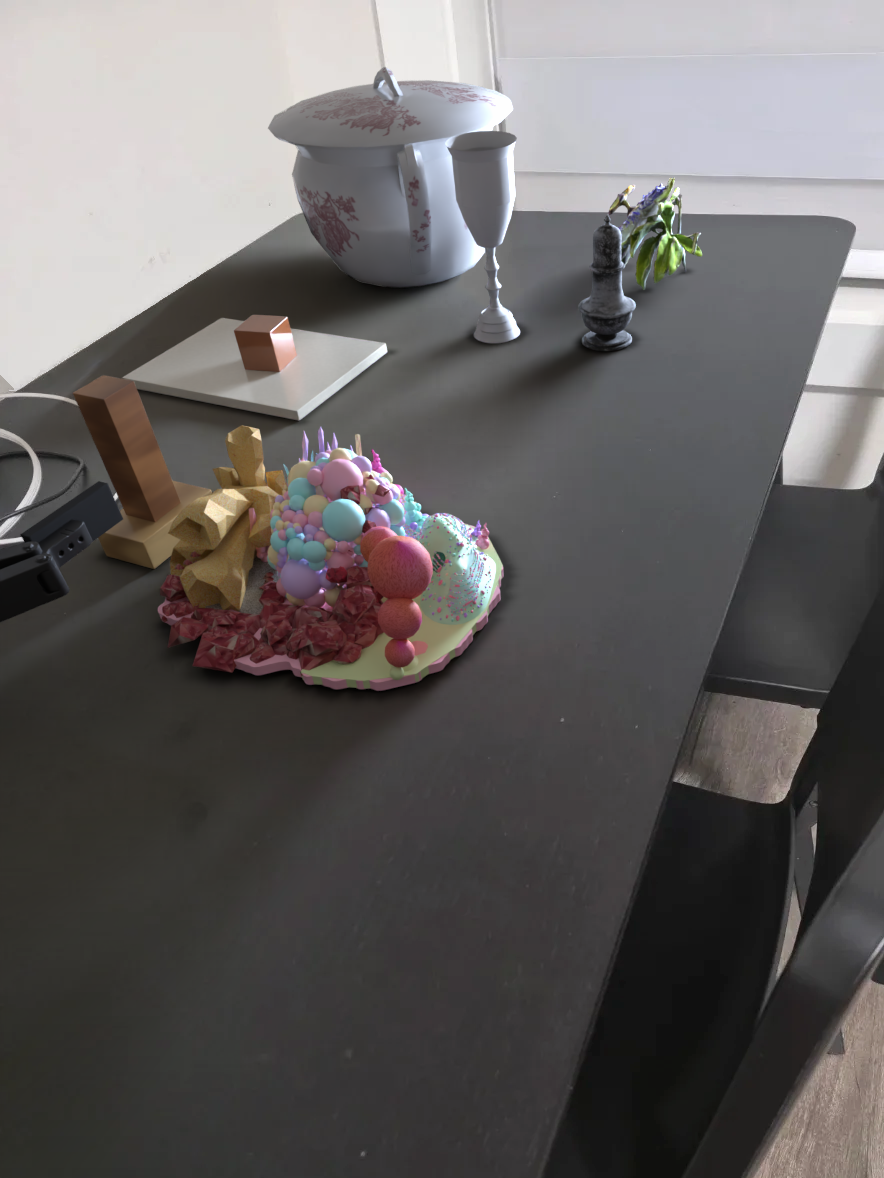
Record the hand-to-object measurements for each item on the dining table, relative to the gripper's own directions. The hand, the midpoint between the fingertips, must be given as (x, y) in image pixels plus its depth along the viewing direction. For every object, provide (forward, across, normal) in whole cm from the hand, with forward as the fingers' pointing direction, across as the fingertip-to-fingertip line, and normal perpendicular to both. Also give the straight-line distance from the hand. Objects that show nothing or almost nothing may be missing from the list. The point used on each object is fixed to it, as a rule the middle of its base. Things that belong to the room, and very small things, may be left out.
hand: (37, 481), depth 61 cm
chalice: (+52, +8, -9) cm, 53 cm away
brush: (+8, 0, -9) cm, 12 cm away
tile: (+36, -12, -9) cm, 39 cm away
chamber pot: (+66, -11, -9) cm, 67 cm away
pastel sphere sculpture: (+8, +17, -10) cm, 21 cm away
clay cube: (+36, -10, -8) cm, 38 cm away
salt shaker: (+54, +20, -9) cm, 58 cm away
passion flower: (+74, +18, -9) cm, 77 cm away
